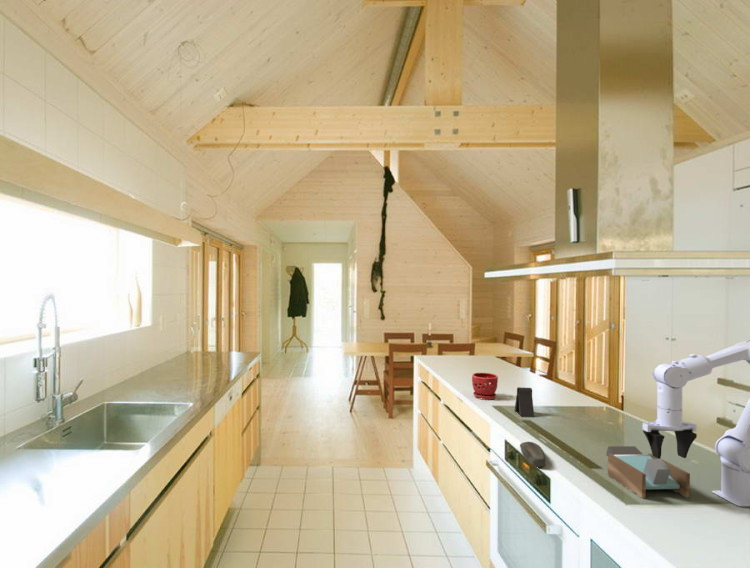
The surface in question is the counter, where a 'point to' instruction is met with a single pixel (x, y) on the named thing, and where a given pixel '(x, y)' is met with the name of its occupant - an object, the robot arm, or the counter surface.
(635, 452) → the trapdoor flap
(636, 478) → the stand
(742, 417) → the robot arm
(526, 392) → the phone stand
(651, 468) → the slate block
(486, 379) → the plant pot
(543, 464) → the decorative stone
